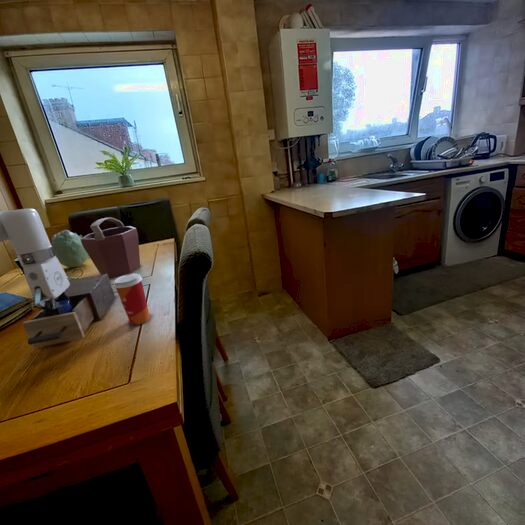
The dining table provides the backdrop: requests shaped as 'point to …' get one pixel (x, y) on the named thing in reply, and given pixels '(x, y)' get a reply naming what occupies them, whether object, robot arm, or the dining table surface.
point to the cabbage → (69, 249)
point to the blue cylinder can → (64, 306)
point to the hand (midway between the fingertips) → (62, 315)
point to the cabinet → (93, 292)
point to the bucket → (113, 248)
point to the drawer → (60, 324)
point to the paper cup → (133, 298)
